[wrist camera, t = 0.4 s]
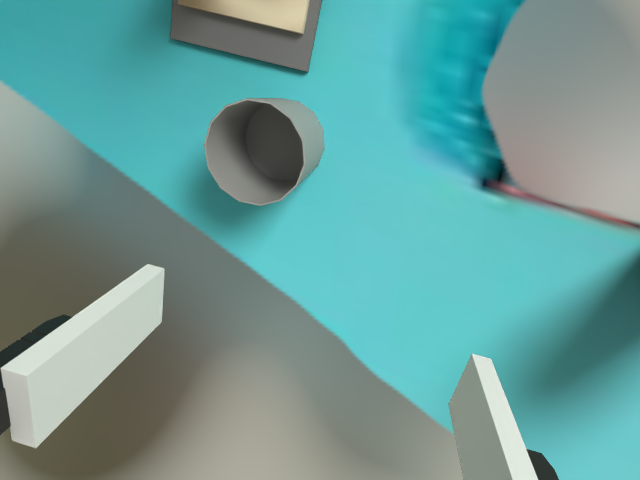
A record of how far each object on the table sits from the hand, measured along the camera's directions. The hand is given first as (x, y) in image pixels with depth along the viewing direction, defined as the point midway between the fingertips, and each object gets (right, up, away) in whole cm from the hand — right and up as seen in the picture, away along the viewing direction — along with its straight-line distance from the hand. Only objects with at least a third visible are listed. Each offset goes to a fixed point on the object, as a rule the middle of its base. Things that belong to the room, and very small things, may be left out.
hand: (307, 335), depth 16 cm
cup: (-3, +14, +24) cm, 28 cm away
